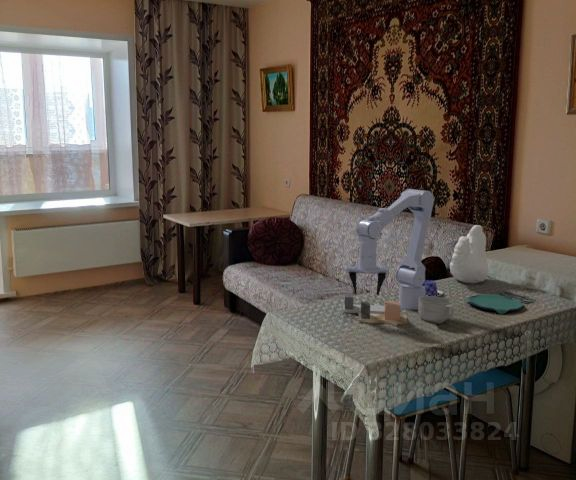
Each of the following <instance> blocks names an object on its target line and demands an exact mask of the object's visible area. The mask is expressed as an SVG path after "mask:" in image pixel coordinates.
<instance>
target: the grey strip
mask: <svg viewBox="0 0 576 480" xmlns="http://www.w3.org/2000/svg"><path fill="white" fill-rule="evenodd" d="M342 313H344V314H346V313H348V314H350V313H351V314H354V313H355V314H356V313H361V304H355V303H354V293H351V292H350V293H348V292H347V293H344V303H343V304H342ZM370 314H384V305H378V304H377V305H375V304H374V305H372V304H370Z"/></svg>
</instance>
